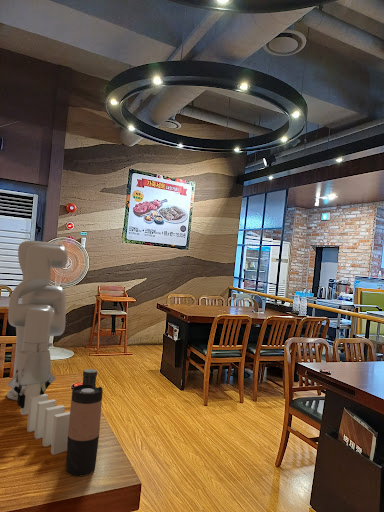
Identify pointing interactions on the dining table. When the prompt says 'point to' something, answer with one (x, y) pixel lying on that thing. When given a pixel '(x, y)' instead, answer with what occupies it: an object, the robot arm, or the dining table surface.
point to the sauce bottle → (89, 377)
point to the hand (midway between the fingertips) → (30, 404)
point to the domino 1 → (30, 391)
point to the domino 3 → (42, 416)
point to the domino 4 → (50, 423)
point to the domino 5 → (60, 433)
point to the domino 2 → (34, 410)
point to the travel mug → (83, 429)
